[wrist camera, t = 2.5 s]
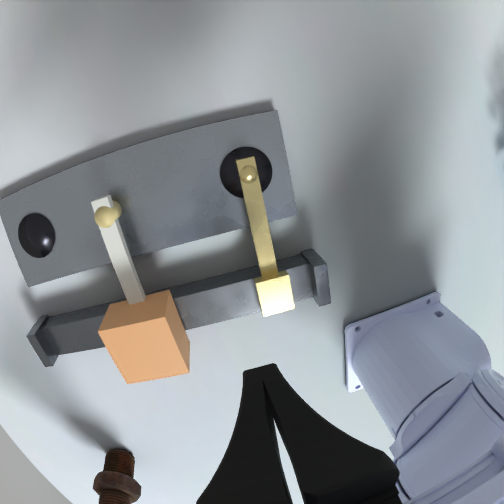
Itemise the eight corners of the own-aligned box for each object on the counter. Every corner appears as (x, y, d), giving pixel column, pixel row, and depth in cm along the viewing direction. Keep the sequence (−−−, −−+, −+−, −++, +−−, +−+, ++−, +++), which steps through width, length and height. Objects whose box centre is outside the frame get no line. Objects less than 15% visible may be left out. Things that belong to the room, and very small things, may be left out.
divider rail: (295, 145, 18) (309, 147, 16) (317, 285, 22) (330, 303, 19) (3, 233, 17) (-16, 246, 14) (56, 346, 20) (45, 366, 18)
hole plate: (274, 110, 17) (277, 110, 17) (294, 212, 20) (298, 215, 19) (0, 199, 16) (-5, 202, 15) (31, 283, 18) (27, 288, 18)
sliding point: (138, 183, 16) (122, 196, 13) (189, 335, 20) (189, 372, 17) (77, 204, 16) (50, 222, 13) (135, 346, 20) (127, 384, 17)
